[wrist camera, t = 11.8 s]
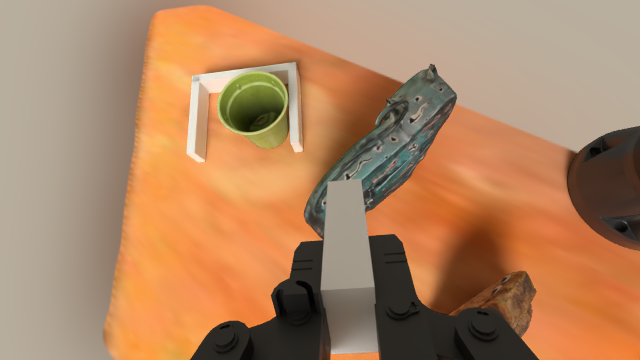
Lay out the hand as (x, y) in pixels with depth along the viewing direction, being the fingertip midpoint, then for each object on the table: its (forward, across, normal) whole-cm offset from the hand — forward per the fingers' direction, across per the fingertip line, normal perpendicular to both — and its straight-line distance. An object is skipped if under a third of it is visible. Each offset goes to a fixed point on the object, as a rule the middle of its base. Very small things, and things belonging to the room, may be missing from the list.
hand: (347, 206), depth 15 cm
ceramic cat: (+28, +3, -15) cm, 32 cm away
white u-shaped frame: (+37, -15, -6) cm, 40 cm away
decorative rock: (+16, +13, -27) cm, 34 cm away
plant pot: (+36, -12, -7) cm, 38 cm away
